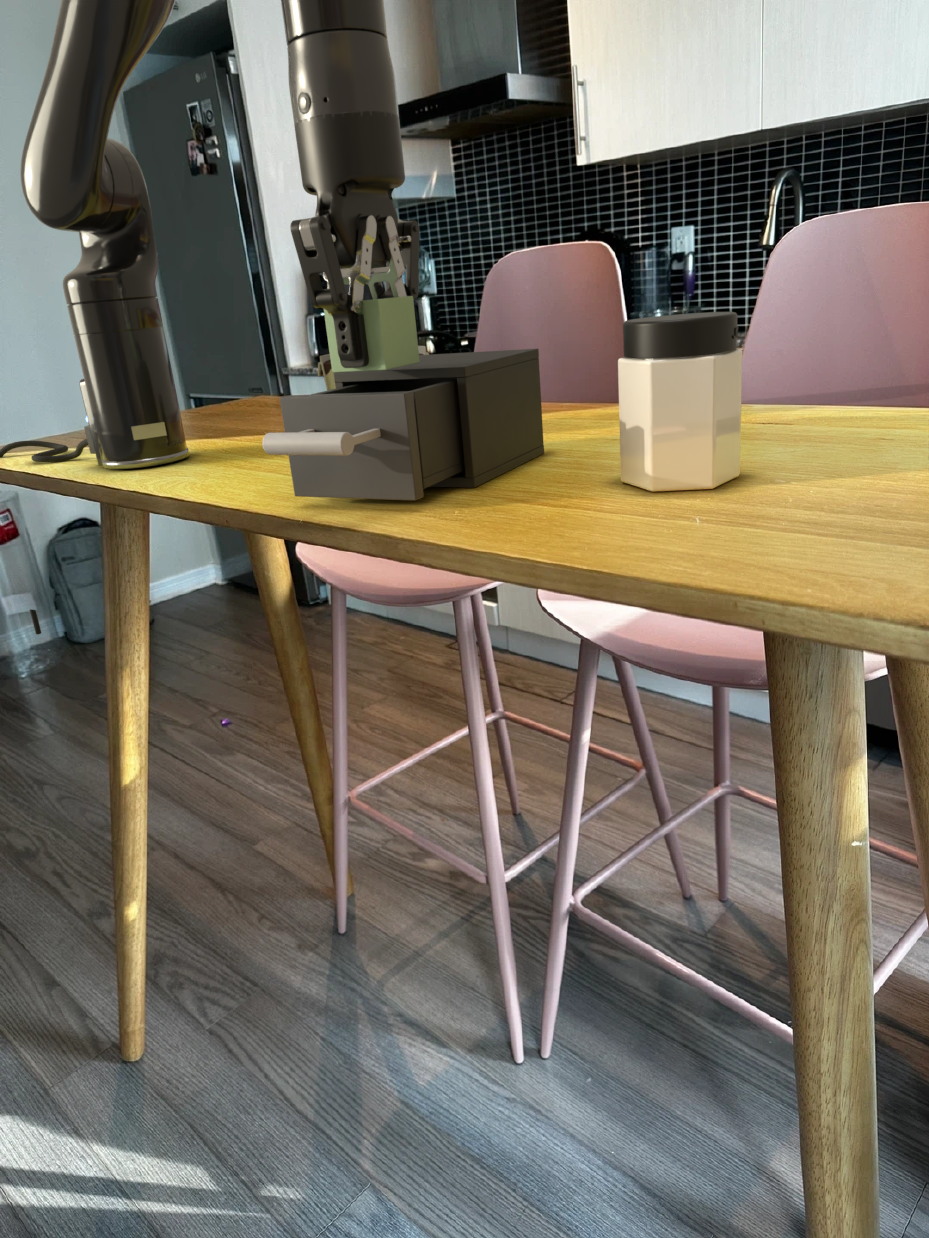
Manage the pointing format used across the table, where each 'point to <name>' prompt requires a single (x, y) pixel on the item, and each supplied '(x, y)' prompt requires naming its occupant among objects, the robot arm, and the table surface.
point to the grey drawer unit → (482, 406)
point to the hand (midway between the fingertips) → (375, 362)
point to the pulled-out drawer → (372, 439)
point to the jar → (680, 401)
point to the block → (382, 335)
